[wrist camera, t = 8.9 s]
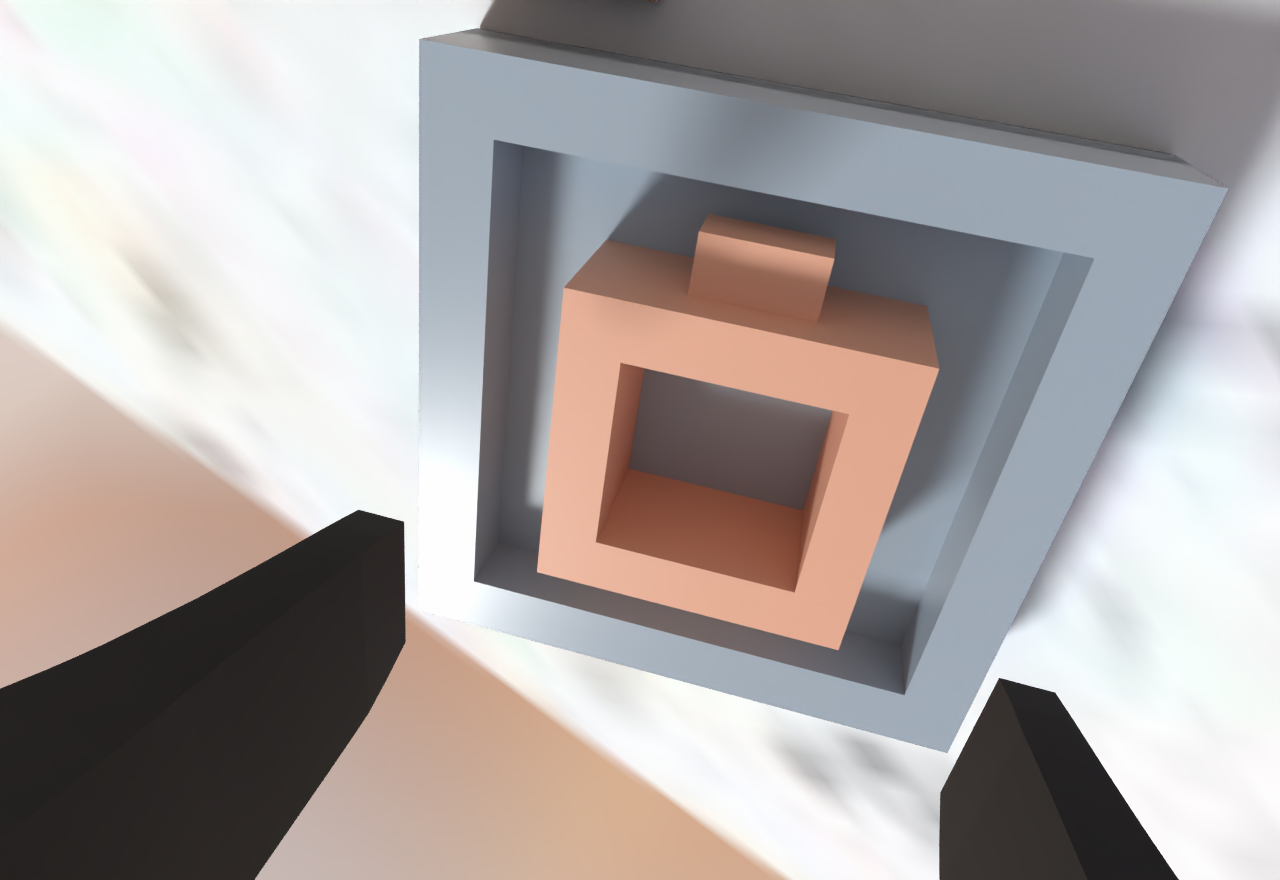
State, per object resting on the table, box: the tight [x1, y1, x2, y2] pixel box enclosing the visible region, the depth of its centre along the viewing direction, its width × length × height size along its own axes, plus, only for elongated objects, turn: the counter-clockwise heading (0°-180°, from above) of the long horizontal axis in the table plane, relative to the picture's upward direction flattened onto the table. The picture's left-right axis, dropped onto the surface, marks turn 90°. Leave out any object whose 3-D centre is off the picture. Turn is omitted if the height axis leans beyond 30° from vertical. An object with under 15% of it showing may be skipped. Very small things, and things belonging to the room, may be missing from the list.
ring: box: [537, 214, 939, 650], centre depth 14 cm, size 6×6×2 cm
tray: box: [419, 28, 1229, 753], centre depth 15 cm, size 11×11×2 cm
